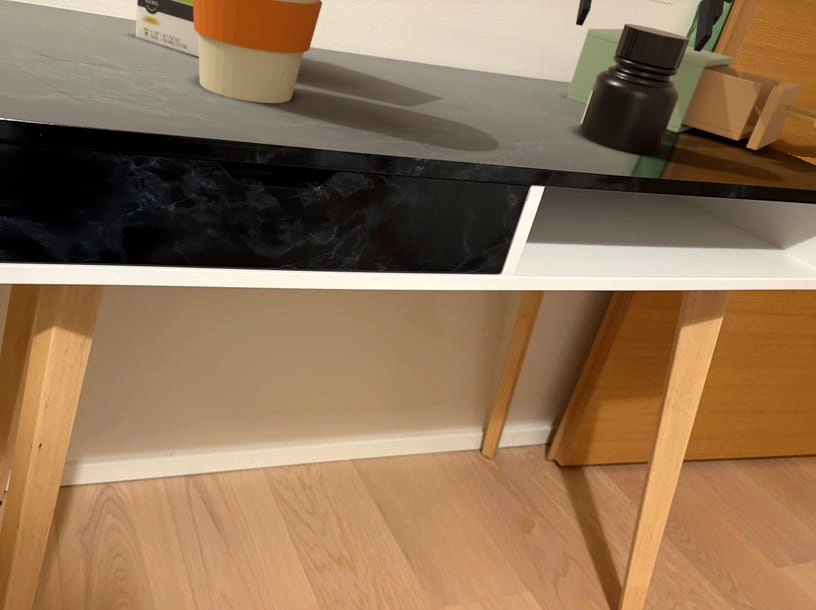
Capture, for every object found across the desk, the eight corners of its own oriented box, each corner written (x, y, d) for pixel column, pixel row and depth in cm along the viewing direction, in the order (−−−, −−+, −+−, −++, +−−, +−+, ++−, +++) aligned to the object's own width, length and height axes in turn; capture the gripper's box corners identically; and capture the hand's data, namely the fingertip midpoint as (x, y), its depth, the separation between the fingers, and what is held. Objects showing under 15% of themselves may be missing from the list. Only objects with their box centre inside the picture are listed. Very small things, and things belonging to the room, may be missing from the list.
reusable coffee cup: (312, 90, 85) (338, -68, 77) (304, 119, 74) (333, -61, 66) (193, 67, 84) (208, -95, 76) (168, 93, 73) (182, -93, 66)
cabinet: (705, 125, 112) (733, 57, 107) (676, 134, 102) (706, 60, 97) (601, 93, 119) (624, 29, 114) (565, 99, 109) (588, 28, 104)
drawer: (822, 154, 104) (850, 97, 100) (805, 165, 95) (836, 103, 91) (671, 108, 113) (692, 54, 110) (642, 115, 104) (664, 56, 101)
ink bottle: (625, 135, 95) (665, 28, 89) (675, 160, 88) (721, 46, 82) (558, 128, 92) (594, 16, 86) (605, 153, 85) (647, 34, 79)
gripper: (752, -72, 99) (735, 74, 93) (553, -114, 99) (524, 28, 94) (787, -123, 91) (771, 32, 86) (572, -169, 92) (542, -18, 87)
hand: (642, 30), depth 90 cm, fingers open, 13 cm apart
